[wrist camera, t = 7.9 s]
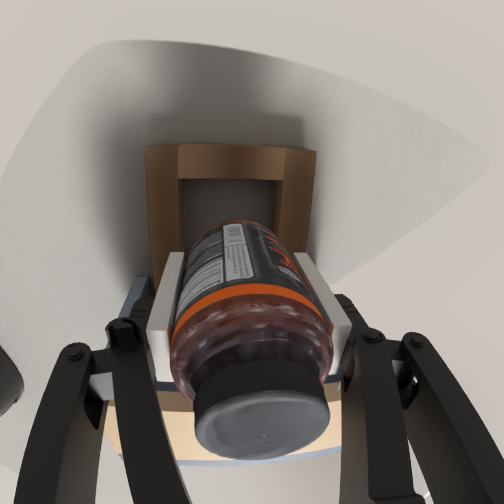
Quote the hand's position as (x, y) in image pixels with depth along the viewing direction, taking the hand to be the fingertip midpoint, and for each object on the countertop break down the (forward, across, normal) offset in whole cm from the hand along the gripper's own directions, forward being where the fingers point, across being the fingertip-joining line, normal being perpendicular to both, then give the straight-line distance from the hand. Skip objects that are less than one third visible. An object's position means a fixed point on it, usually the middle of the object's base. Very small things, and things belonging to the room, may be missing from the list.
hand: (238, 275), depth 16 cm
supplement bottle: (+2, 0, 0) cm, 2 cm away
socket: (+11, 0, 0) cm, 11 cm away
